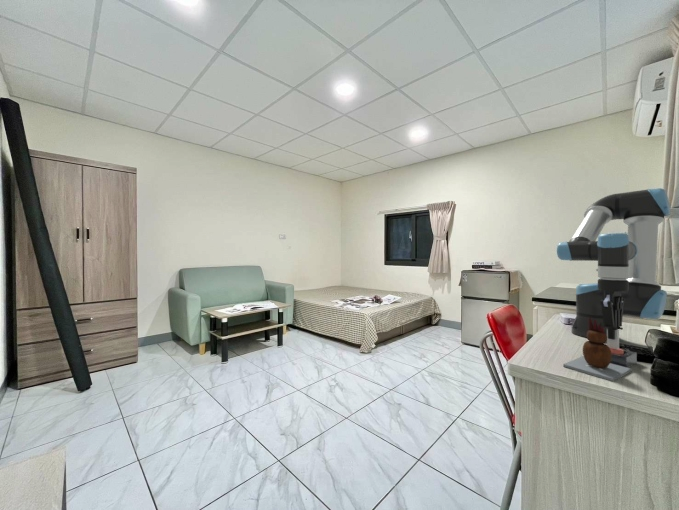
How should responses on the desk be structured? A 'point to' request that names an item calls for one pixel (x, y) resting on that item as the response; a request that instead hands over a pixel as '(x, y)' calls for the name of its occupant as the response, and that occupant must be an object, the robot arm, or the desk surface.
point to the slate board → (598, 369)
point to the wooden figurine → (596, 347)
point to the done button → (617, 351)
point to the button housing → (624, 359)
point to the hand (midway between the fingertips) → (612, 348)
